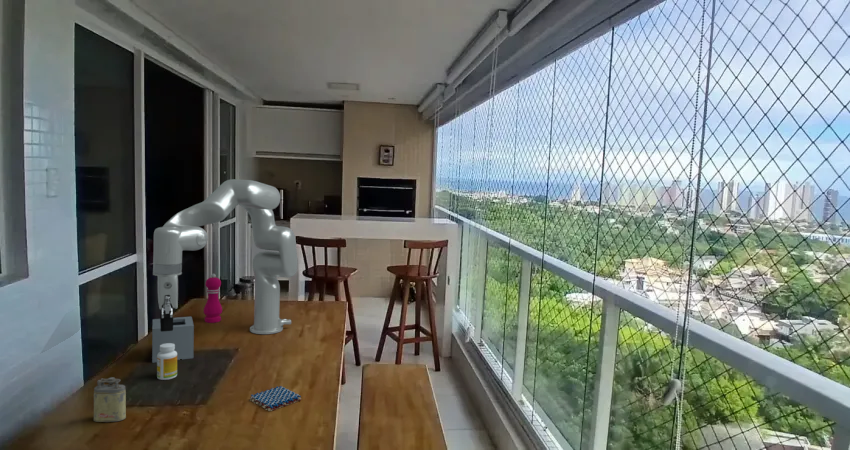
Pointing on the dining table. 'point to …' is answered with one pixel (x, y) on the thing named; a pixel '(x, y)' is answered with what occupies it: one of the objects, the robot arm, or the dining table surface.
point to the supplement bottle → (167, 362)
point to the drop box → (174, 337)
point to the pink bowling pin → (213, 300)
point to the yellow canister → (109, 401)
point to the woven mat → (275, 398)
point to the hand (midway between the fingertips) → (166, 326)
